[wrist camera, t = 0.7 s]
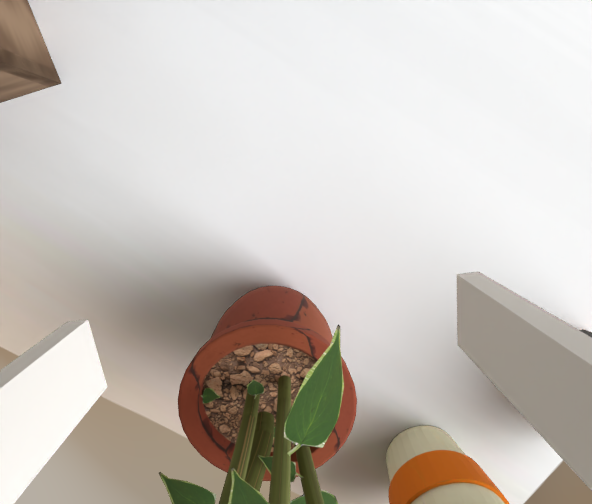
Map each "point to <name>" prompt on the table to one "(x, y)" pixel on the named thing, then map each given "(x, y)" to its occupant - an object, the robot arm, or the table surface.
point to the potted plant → (266, 400)
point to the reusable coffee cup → (435, 471)
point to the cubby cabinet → (22, 52)
